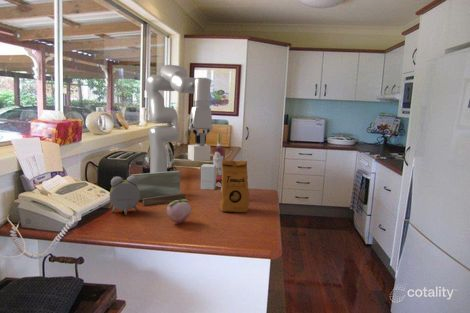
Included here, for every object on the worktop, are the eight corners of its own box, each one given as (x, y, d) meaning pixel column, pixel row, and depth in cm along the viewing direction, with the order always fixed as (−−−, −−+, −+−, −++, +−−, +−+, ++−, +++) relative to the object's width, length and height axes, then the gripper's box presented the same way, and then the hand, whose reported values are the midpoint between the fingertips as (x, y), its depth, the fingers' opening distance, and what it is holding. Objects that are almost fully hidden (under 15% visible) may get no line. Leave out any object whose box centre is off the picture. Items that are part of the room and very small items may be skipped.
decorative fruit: (180, 218, 137) (180, 193, 136) (194, 223, 132) (195, 197, 131) (161, 223, 130) (161, 197, 129) (175, 229, 125) (176, 202, 123)
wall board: (131, 200, 159) (130, 174, 157) (178, 194, 173) (178, 170, 171) (139, 206, 150) (139, 179, 149) (188, 199, 164) (189, 174, 162)
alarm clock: (139, 209, 147) (138, 174, 144) (140, 214, 140) (140, 177, 138) (109, 211, 142) (109, 175, 140) (110, 216, 136) (109, 179, 134)
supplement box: (216, 186, 191) (216, 164, 190) (213, 190, 184) (214, 166, 182) (202, 186, 192) (203, 163, 190) (200, 189, 185) (200, 165, 183)
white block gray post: (187, 159, 168) (188, 132, 166) (204, 158, 173) (204, 132, 171) (193, 161, 163) (194, 133, 161) (210, 159, 168) (210, 133, 166)
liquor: (225, 180, 208) (227, 134, 204) (222, 183, 201) (223, 134, 197) (214, 179, 210) (215, 133, 206) (210, 181, 203) (211, 134, 199)
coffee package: (248, 214, 145) (251, 162, 142) (219, 213, 145) (220, 161, 141) (248, 207, 155) (250, 159, 151) (220, 206, 155) (221, 158, 151)
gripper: (212, 104, 171) (210, 142, 174) (182, 103, 162) (181, 143, 165) (220, 105, 165) (218, 143, 168) (190, 104, 156) (189, 145, 159)
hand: (200, 143), depth 166 cm, fingers closed on white block gray post, 2 cm apart
